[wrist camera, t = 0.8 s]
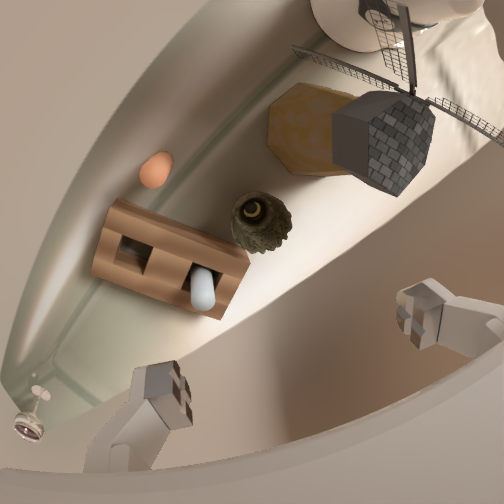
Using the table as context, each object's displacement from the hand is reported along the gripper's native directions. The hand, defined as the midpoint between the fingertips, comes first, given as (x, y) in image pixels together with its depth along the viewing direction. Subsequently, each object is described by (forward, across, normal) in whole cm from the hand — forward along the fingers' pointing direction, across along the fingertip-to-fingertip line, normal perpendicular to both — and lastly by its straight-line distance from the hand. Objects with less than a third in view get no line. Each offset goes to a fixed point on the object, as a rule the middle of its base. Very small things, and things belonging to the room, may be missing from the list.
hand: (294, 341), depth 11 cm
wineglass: (+36, +50, +32) cm, 70 cm away
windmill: (+36, -15, -3) cm, 39 cm away
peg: (+36, +7, -4) cm, 36 cm away
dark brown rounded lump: (+36, -3, +6) cm, 36 cm away
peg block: (+36, +10, +10) cm, 38 cm away
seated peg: (+36, +6, +13) cm, 38 cm away
